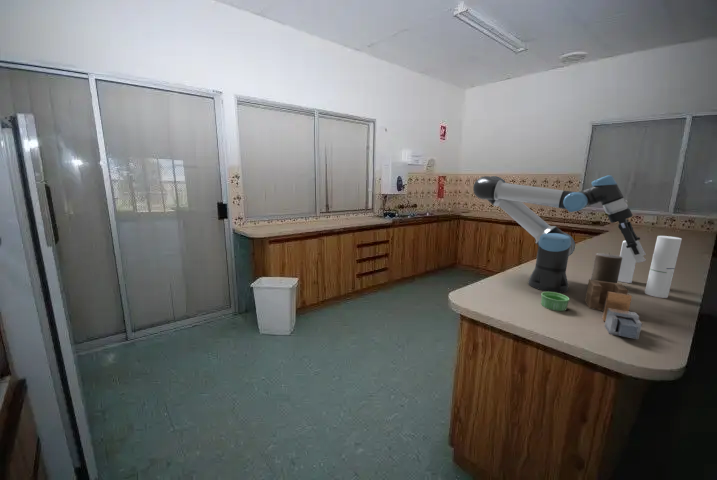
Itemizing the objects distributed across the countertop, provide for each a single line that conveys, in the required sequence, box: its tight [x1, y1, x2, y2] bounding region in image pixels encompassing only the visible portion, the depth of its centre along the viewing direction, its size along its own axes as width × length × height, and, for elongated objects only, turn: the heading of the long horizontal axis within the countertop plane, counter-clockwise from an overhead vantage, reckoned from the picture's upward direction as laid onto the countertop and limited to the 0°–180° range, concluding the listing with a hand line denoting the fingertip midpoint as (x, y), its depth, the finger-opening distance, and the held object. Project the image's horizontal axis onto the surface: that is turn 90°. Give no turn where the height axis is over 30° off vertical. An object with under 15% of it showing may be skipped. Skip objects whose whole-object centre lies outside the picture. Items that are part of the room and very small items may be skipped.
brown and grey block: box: [601, 292, 638, 339], centre depth 100 cm, size 6×20×10 cm, turn 153°
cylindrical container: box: [644, 235, 683, 299], centre depth 129 cm, size 7×7×25 cm
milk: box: [617, 239, 637, 284], centre depth 147 cm, size 6×6×22 cm
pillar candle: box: [590, 252, 622, 283], centre depth 143 cm, size 10×10×15 cm
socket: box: [584, 278, 629, 311], centre depth 116 cm, size 10×8×9 cm
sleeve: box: [604, 308, 643, 340], centre depth 96 cm, size 7×6×6 cm
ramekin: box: [540, 291, 570, 312], centre depth 116 cm, size 9×9×4 cm
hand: (641, 258), depth 126 cm, fingers open, 13 cm apart
